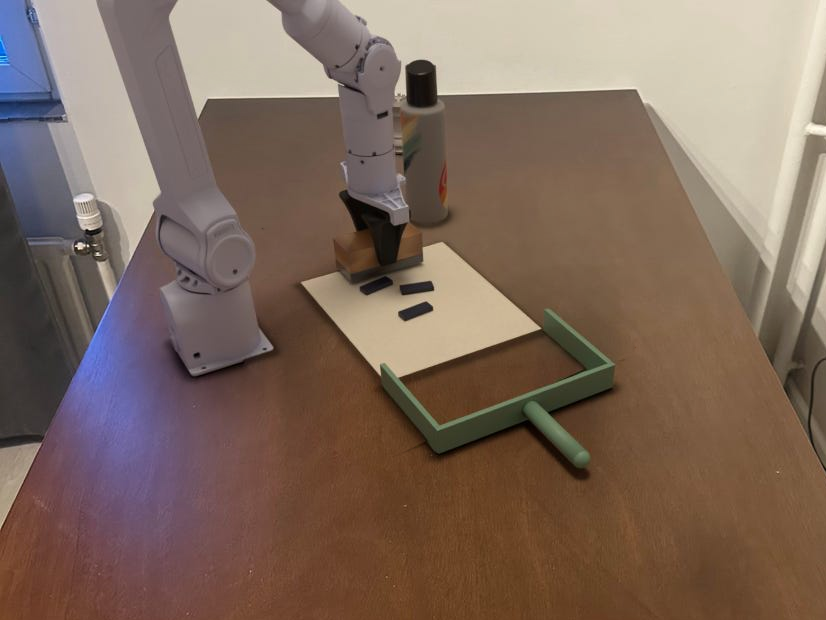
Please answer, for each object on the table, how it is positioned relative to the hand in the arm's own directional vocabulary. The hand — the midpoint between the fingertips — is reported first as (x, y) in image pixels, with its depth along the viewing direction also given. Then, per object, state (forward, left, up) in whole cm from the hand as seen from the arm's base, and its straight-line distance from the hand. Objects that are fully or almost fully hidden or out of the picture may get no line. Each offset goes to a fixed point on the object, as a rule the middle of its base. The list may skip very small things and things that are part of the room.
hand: (379, 254), depth 111 cm
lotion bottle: (+12, +10, -2) cm, 16 cm away
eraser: (0, 0, -1) cm, 1 cm away
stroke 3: (-1, -12, -2) cm, 12 cm away
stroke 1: (-3, -4, -2) cm, 5 cm away
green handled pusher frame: (0, -33, -2) cm, 33 cm away
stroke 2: (+1, -7, -2) cm, 7 cm away
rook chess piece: (+19, +32, -2) cm, 37 cm away
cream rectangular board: (0, -10, -2) cm, 10 cm away
